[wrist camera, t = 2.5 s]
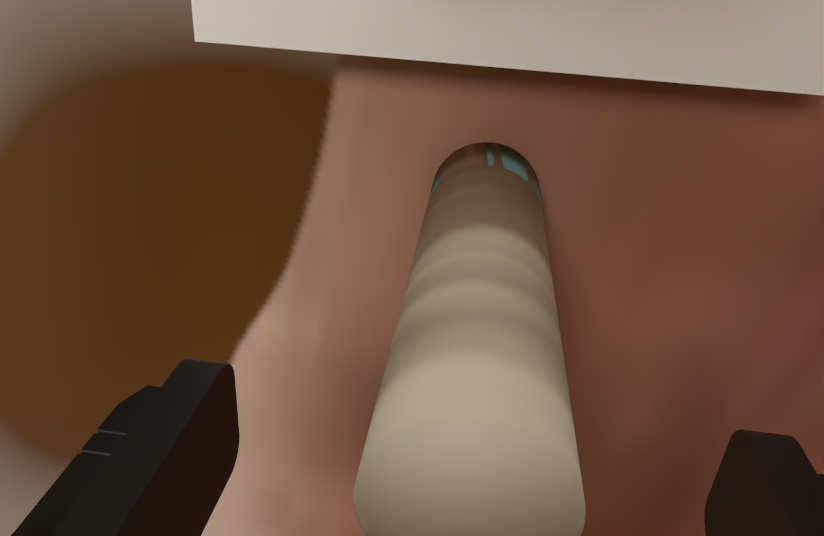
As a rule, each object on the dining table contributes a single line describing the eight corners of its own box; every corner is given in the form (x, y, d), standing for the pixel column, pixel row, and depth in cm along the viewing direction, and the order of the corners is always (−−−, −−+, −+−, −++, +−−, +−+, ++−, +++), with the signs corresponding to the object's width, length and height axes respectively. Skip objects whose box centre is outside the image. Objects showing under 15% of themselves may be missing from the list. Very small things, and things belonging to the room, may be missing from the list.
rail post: (436, 137, 19) (355, 407, 8) (547, 147, 19) (608, 438, 8) (428, 236, 20) (351, 570, 10) (530, 247, 20) (563, 601, 10)
